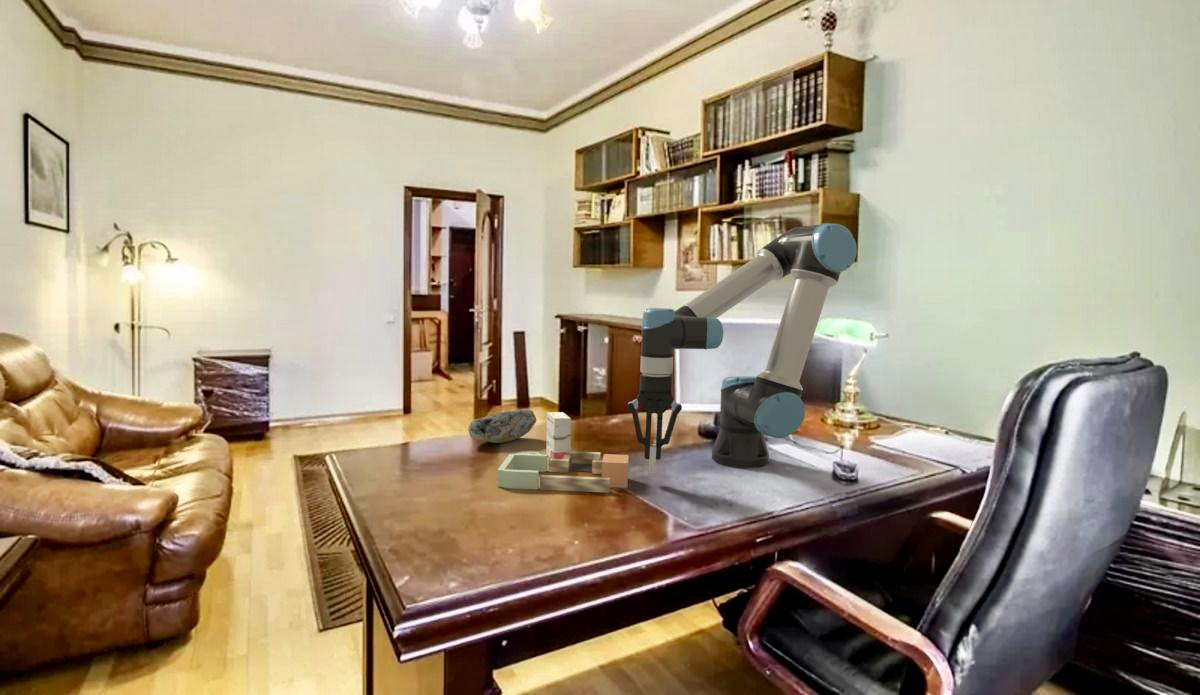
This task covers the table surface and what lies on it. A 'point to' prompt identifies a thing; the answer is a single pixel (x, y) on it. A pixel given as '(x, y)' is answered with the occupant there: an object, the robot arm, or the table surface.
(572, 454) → the wooden frame piece
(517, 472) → the dock
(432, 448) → the table surface
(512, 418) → the stone
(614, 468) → the block
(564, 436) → the ink box
